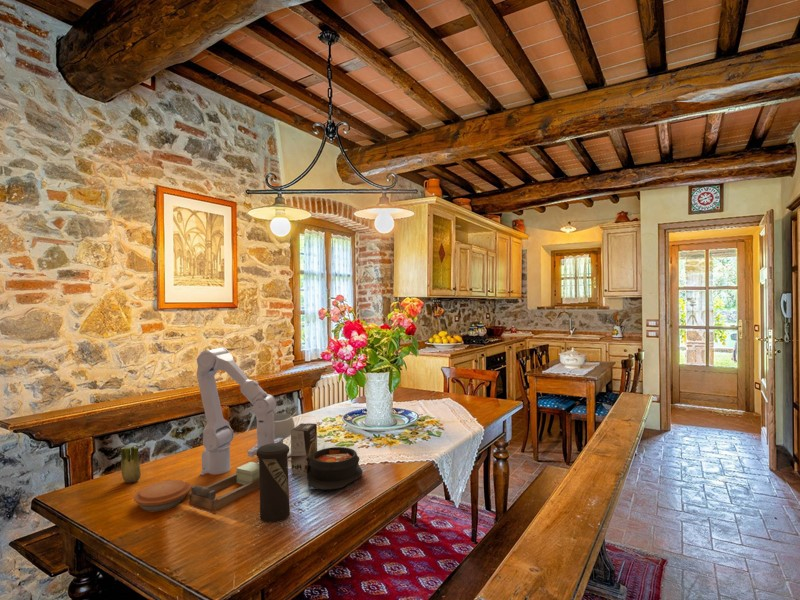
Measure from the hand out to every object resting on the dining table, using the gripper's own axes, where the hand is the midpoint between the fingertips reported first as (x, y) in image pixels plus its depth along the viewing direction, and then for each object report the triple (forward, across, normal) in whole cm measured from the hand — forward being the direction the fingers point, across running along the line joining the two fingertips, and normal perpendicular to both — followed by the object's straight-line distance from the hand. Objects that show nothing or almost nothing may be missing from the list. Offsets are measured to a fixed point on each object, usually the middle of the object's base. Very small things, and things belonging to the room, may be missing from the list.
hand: (266, 470), depth 153 cm
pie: (+3, -28, +15) cm, 32 cm away
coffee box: (+2, +9, -9) cm, 13 cm away
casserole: (+2, +9, -22) cm, 24 cm away
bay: (+2, -14, 0) cm, 14 cm away
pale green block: (+1, -7, 0) cm, 7 cm away
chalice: (+2, +17, +12) cm, 21 cm away
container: (+2, -19, -22) cm, 29 cm away
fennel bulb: (+2, -23, +40) cm, 46 cm away
